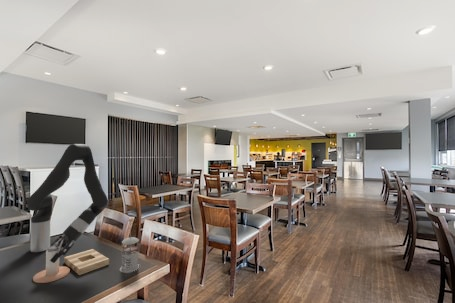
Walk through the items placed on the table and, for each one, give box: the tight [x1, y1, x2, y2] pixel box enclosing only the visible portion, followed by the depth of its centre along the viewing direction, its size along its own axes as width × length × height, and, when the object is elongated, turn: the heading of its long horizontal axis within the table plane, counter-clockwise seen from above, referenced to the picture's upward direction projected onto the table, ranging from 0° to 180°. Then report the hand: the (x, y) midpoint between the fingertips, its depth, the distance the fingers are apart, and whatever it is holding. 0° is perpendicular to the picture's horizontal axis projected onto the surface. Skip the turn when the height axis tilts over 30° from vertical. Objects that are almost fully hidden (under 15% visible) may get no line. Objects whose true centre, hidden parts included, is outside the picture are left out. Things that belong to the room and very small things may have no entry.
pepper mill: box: [45, 246, 60, 276], centre depth 112 cm, size 5×5×12 cm
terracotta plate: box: [32, 265, 71, 284], centre depth 112 cm, size 14×14×1 cm
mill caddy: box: [63, 248, 110, 276], centre depth 124 cm, size 20×14×3 cm
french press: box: [119, 218, 140, 274], centre depth 120 cm, size 10×12×25 cm
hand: (49, 259), depth 111 cm, fingers open, 8 cm apart
